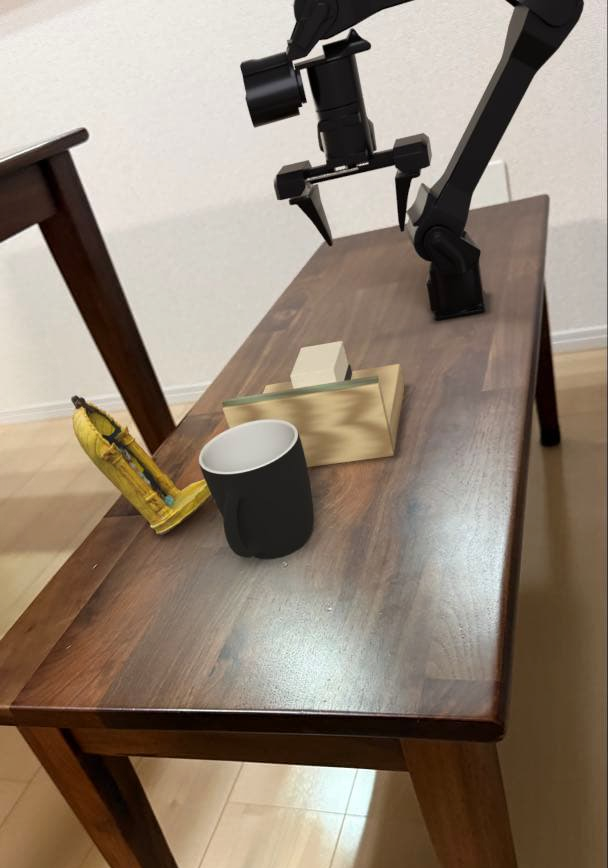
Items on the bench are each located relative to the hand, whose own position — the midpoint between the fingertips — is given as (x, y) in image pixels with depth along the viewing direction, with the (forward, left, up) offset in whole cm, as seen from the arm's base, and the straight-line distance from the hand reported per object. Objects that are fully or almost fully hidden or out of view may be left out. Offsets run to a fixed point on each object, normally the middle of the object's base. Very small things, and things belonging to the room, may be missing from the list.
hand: (366, 238), depth 106 cm
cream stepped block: (+4, +25, -9) cm, 27 cm away
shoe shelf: (+4, +26, -12) cm, 29 cm away
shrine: (+18, +42, -12) cm, 47 cm away
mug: (+6, +48, -12) cm, 50 cm away
